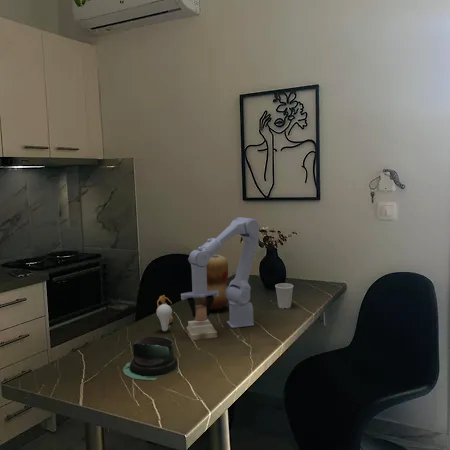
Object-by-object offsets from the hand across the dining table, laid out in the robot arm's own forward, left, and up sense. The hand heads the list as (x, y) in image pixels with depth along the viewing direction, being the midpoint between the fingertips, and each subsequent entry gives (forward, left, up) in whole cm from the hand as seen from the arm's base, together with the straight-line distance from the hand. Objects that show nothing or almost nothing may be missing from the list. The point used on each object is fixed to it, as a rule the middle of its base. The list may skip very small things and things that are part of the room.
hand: (200, 315), depth 183 cm
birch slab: (0, 0, -8) cm, 8 cm away
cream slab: (0, 0, -6) cm, 6 cm away
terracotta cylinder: (0, 0, -1) cm, 1 cm away
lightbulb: (+13, -8, -8) cm, 17 cm away
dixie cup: (-44, -22, -8) cm, 50 cm away
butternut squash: (-13, -29, -8) cm, 33 cm away
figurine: (+11, -18, -8) cm, 22 cm away
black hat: (+21, +24, -8) cm, 33 cm away
